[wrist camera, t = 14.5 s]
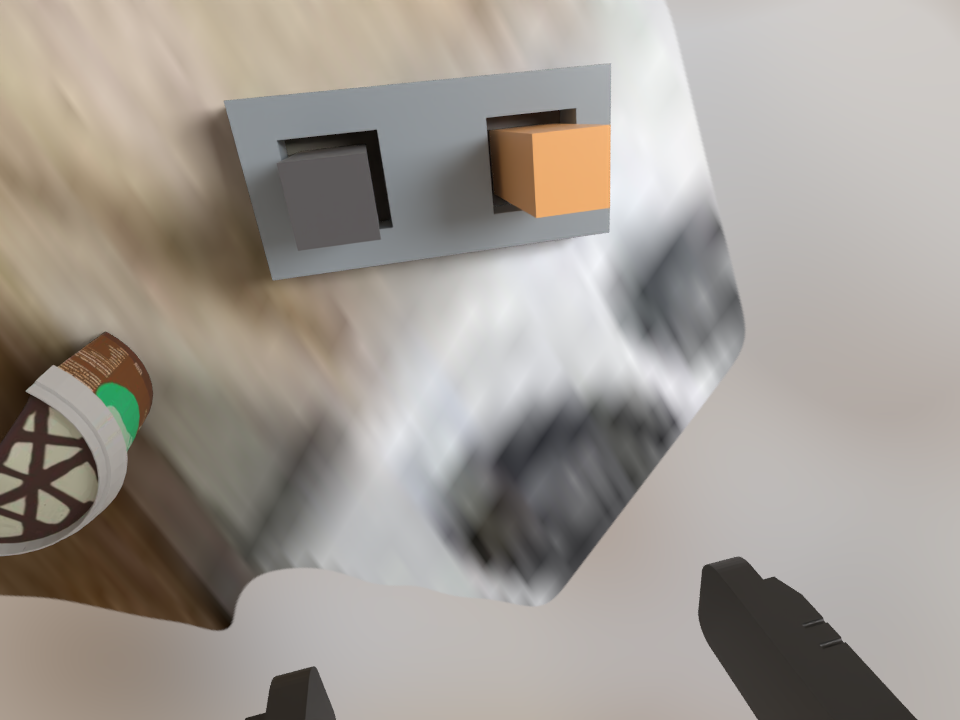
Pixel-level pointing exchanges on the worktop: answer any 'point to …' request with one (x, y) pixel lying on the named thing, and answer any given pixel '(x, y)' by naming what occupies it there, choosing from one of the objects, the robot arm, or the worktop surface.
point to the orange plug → (552, 167)
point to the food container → (71, 445)
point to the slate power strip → (402, 168)
